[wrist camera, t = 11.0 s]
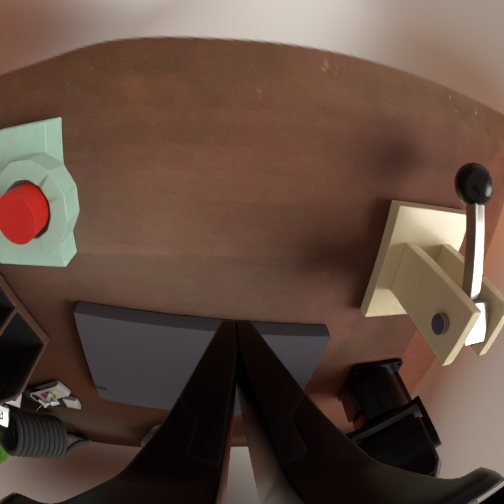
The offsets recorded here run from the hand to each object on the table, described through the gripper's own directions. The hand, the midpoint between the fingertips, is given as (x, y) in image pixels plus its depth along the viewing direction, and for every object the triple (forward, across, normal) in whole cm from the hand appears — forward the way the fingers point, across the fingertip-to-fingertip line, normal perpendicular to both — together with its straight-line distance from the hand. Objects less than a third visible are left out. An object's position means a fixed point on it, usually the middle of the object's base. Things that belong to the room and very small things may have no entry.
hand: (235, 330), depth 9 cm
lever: (+7, -16, +1) cm, 17 cm away
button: (+8, +12, -1) cm, 15 cm away
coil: (+11, +28, +28) cm, 41 cm away
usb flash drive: (+12, +23, +23) cm, 35 cm away
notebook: (+12, +3, +16) cm, 20 cm away
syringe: (+10, +22, +22) cm, 32 cm away
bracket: (+12, -16, +4) cm, 20 cm away
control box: (+12, +14, -1) cm, 18 cm away
